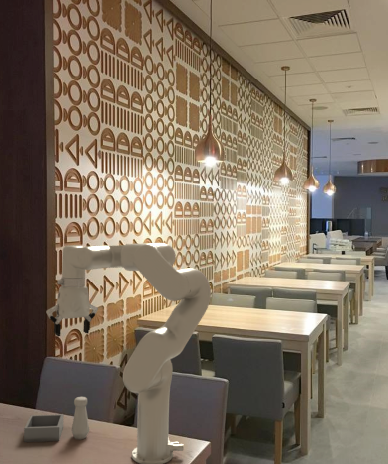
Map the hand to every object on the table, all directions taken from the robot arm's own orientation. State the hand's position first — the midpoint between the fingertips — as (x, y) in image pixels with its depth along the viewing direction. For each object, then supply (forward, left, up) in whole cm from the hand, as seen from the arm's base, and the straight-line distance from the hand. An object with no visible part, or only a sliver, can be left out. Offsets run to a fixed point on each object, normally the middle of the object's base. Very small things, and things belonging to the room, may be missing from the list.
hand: (72, 334), depth 170 cm
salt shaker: (-3, +2, -34) cm, 34 cm away
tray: (+9, -1, -34) cm, 35 cm away
